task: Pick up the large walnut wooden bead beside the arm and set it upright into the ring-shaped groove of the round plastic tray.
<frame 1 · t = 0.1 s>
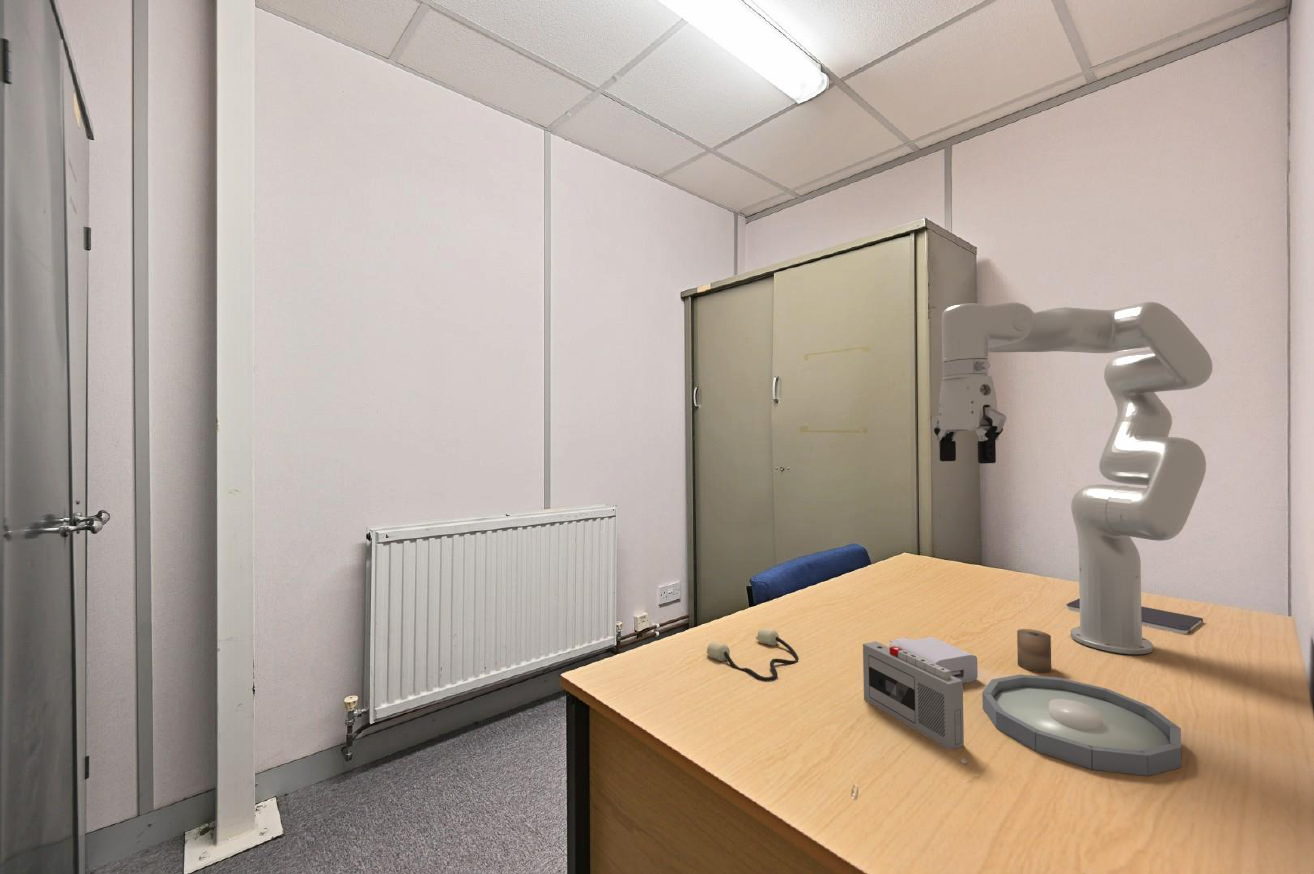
hand: (966, 462, 101), 37 cm above the table, tool pointing down, fingers open, 9 cm apart
charger: (922, 668, 98), on the table
bead: (1034, 666, 97), on the table
tray: (1074, 726, 78), on the table
cassette player: (909, 722, 80), on the table
cable: (762, 660, 104), on the table
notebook: (1131, 618, 124), on the table
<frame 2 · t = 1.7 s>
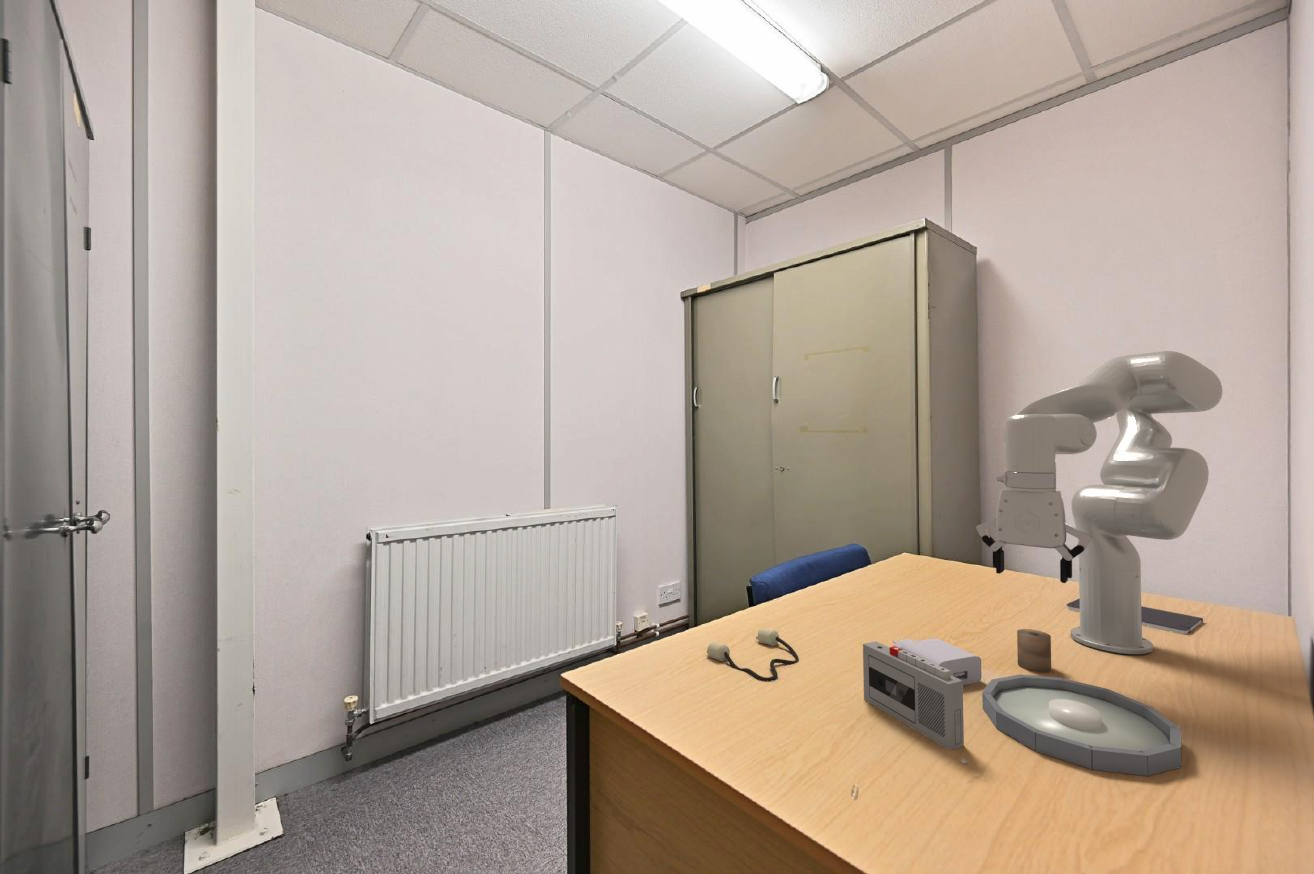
hand: (1031, 576, 97), 16 cm above the table, tool pointing down, fingers open, 9 cm apart
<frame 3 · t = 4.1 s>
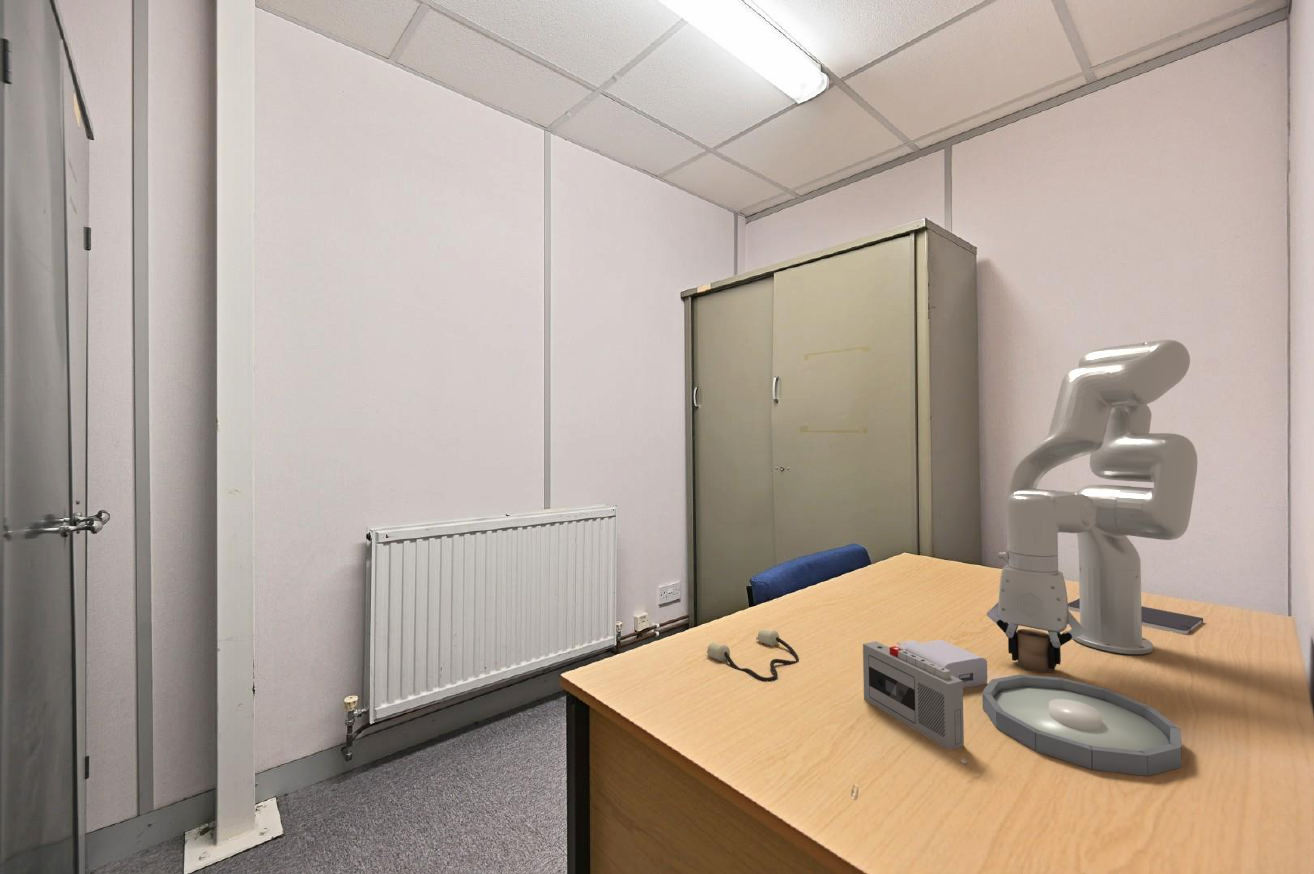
hand: (1034, 661, 97), 1 cm above the table, tool pointing down, fingers closed on bead, 4 cm apart
bead: (1034, 666, 97), on the table, touching gripper
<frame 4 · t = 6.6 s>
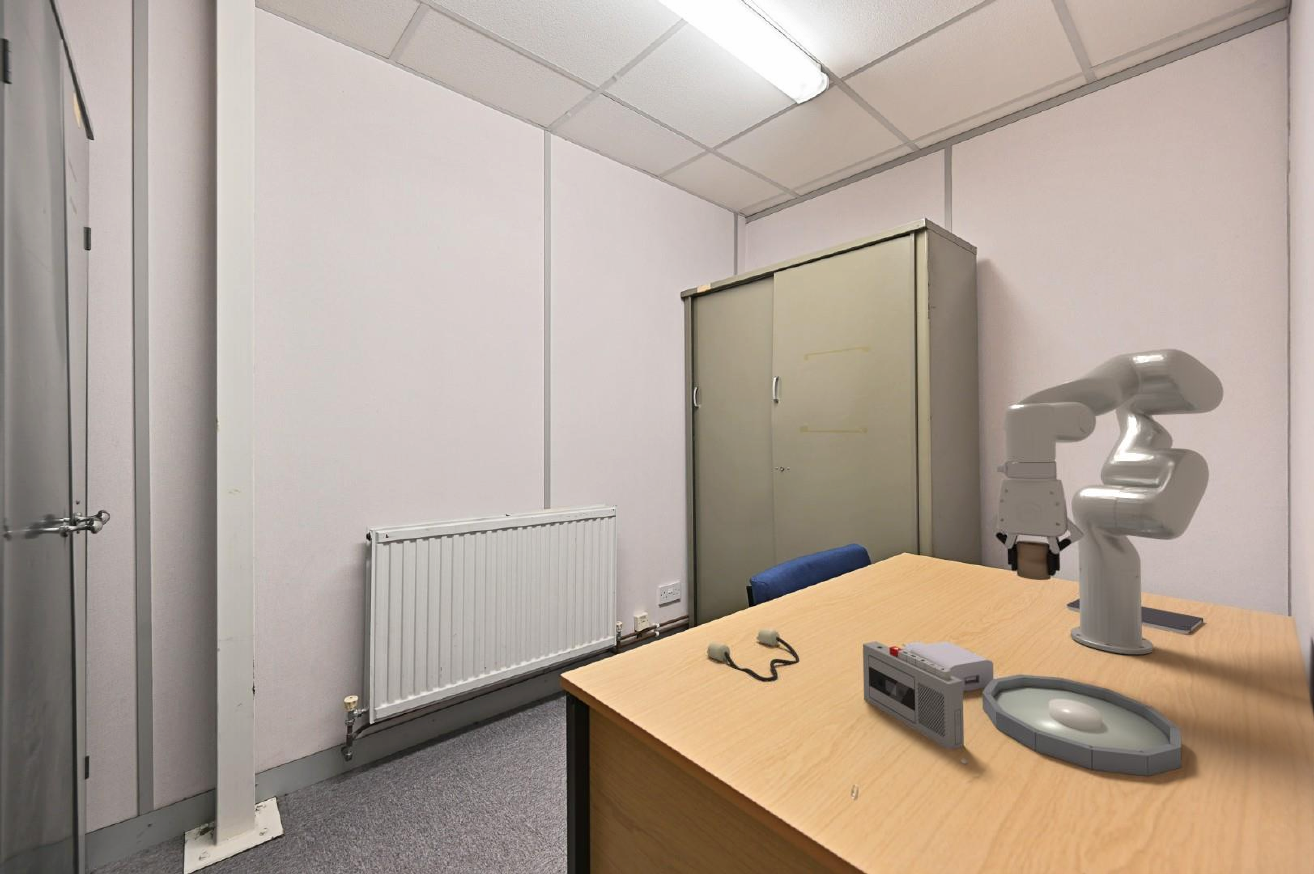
hand: (1033, 570, 98), 17 cm above the table, tool pointing down, fingers closed on bead, 4 cm apart
bead: (1033, 576, 98), point 16 cm above the table, touching gripper
when the fingers open (3 cm above the table, at t = 12.2 s): bead drops 1 cm, resting on tray.
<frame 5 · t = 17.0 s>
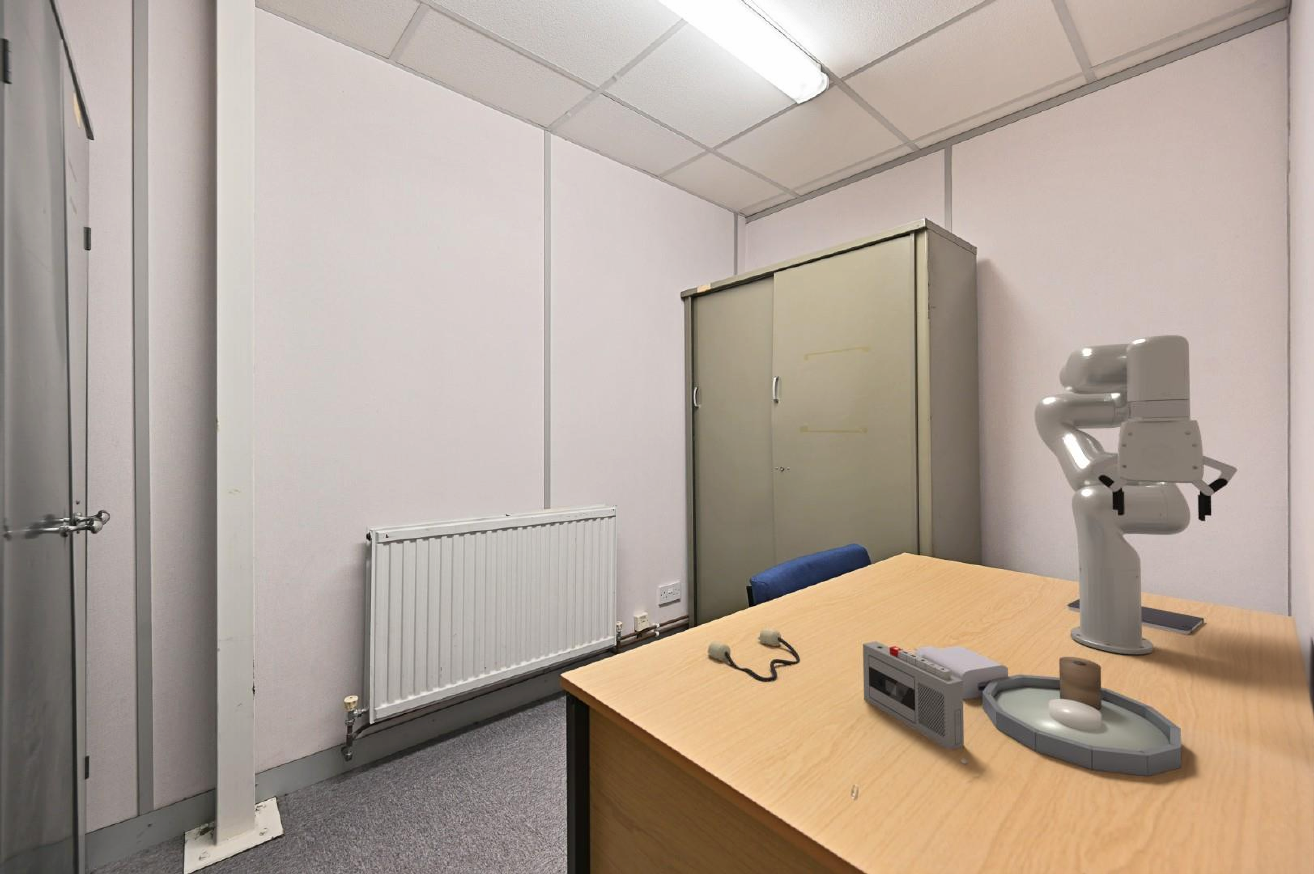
hand: (1159, 517, 88), 28 cm above the table, tool pointing down, fingers open, 9 cm apart
charger: (949, 678, 94), on the table
bead: (1080, 702, 82), point 1 cm above the table, touching tray
everything else where it was.
at the end: bead inside the target area on the tray (1.0 cm from its centre), point 1.1 cm above the tray's base; bead tilted 0°; the gripper is holding nothing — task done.
